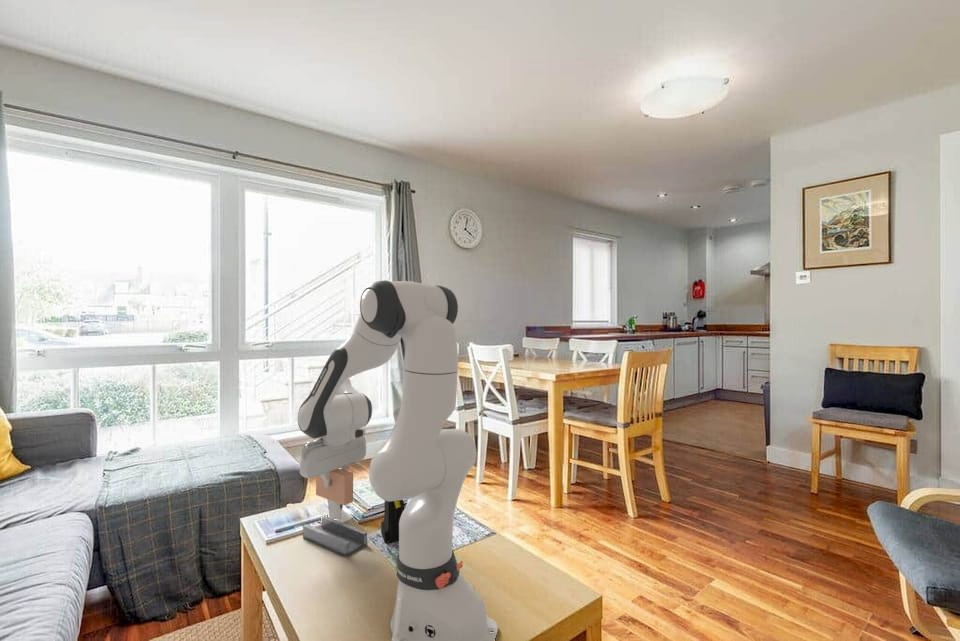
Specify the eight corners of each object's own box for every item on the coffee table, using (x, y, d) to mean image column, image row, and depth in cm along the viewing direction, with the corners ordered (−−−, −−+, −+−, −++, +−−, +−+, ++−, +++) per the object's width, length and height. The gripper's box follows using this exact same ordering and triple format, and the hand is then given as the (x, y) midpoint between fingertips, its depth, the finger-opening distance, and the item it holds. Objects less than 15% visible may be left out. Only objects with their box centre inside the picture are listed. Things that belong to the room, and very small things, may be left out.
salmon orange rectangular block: (353, 501, 123) (353, 472, 122) (344, 505, 120) (344, 476, 120) (324, 491, 129) (324, 464, 129) (315, 494, 126) (316, 467, 126)
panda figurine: (352, 524, 135) (352, 475, 134) (313, 527, 132) (313, 477, 132) (355, 507, 146) (355, 462, 146) (318, 510, 144) (319, 464, 144)
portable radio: (407, 541, 125) (407, 453, 124) (385, 545, 123) (385, 455, 122) (401, 528, 132) (401, 445, 132) (380, 532, 130) (381, 447, 129)
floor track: (367, 544, 123) (367, 532, 123) (345, 557, 117) (345, 544, 116) (324, 527, 132) (324, 515, 132) (303, 537, 126) (303, 525, 126)
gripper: (309, 446, 114) (309, 499, 114) (369, 428, 131) (369, 475, 131) (294, 441, 117) (294, 493, 117) (355, 425, 134) (354, 470, 135)
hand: (334, 483), depth 124 cm, fingers closed on salmon orange rectangular block, 3 cm apart
